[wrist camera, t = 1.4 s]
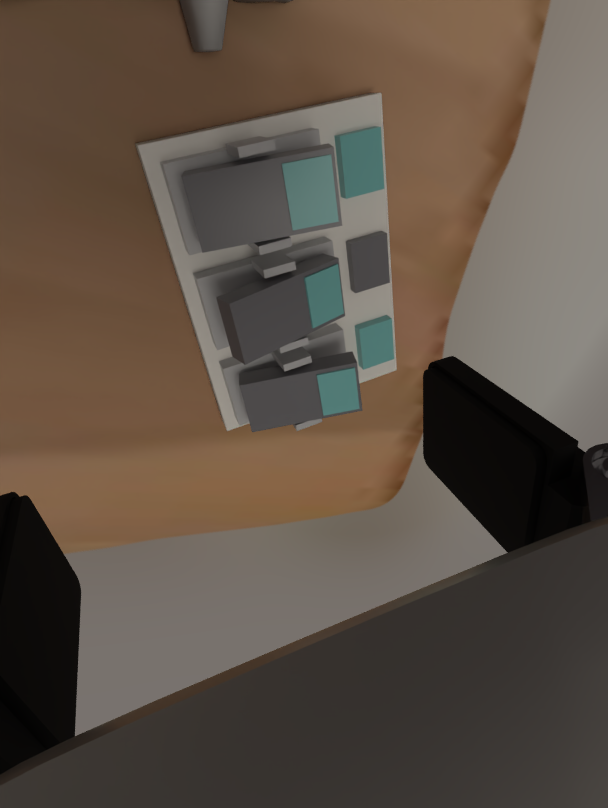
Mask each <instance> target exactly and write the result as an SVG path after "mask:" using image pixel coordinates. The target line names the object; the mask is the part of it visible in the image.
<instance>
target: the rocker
mask: <svg viewBox="0 0 608 808" xmlns="http://www.w3.org/2000/svg"><path fill="white" fill-rule="evenodd" d="M239 386H240V390H241V394H242V397H243V401H244V404H245V408H246V412H247V415H248V419H249V422H250V426H251V430H252V432H256V431H261V430H266V429H271V428H276V427H281V426H286V425H291V424H296V423H301V422H306V421H311V420H316V419H322V418H327V417H332V416H337V415H342V414H347V413H352V412H357V411H362V403H361V394H360V385H359V376H358V366H357V361H356V359H355V356H354V354H353V352H352V351H351V352H346V353H341V354H336V355H331V356H326V357H321V358H316V359H312V362H311V363H308V364H305V365H302V366H300V367H297V368H294V369H291V370H288V371H285V372H284V370H283V369H282V368H281V366H275V367H270V368H265V369H259V370H254V371H249V372H244V373H239Z"/></svg>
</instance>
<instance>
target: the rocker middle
mask: <svg viewBox="0 0 608 808" xmlns="http://www.w3.org/2000/svg"><path fill="white" fill-rule="evenodd" d="M216 299H217V303H218V306H219V310H220V314H221V317H222V321H223V324H224V328H225V332H226V335H227V339H228V343H229V346H230V350H231V353H232V357H234V358H235V359H237V360H238V361H240V362H241V363H243V364H244V365H246V364H248V363H250V362H252V361H254V360H256V359H259V358H261V357H263V356H265V355H267V354H269V353H271V352H273V351H275V350H277V349H279V348H281V347H283V346H285V345H287V344H289V343H291V342H293V341H295V340H297V339H299V338H301V337H303V336H305V335H307V334H309V333H311V332H313V331H316V330H318V329H320V328H322V327H324V326H326V325H328V324H330V323H332V322H334V321H336V320H338V319H340V318H342V317H344V316H345V309H344V301H343V292H342V284H341V275H340V267H339V258H337V257H334V256H330V255H326V254H320V255H318V256H315V257H313V258H311V259H308V260H306V261H303V262H301V263H298V264H296V270H293V271H289V272H286V273H282V274H279V275H275V276H272V277H269V278H262V279H259V280H257V281H255V282H252V283H250V284H247V285H245V286H242V287H240V288H237V289H235V290H233V291H230V292H228V293H225V294H223V295H220V296H218V297H216Z"/></svg>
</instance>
